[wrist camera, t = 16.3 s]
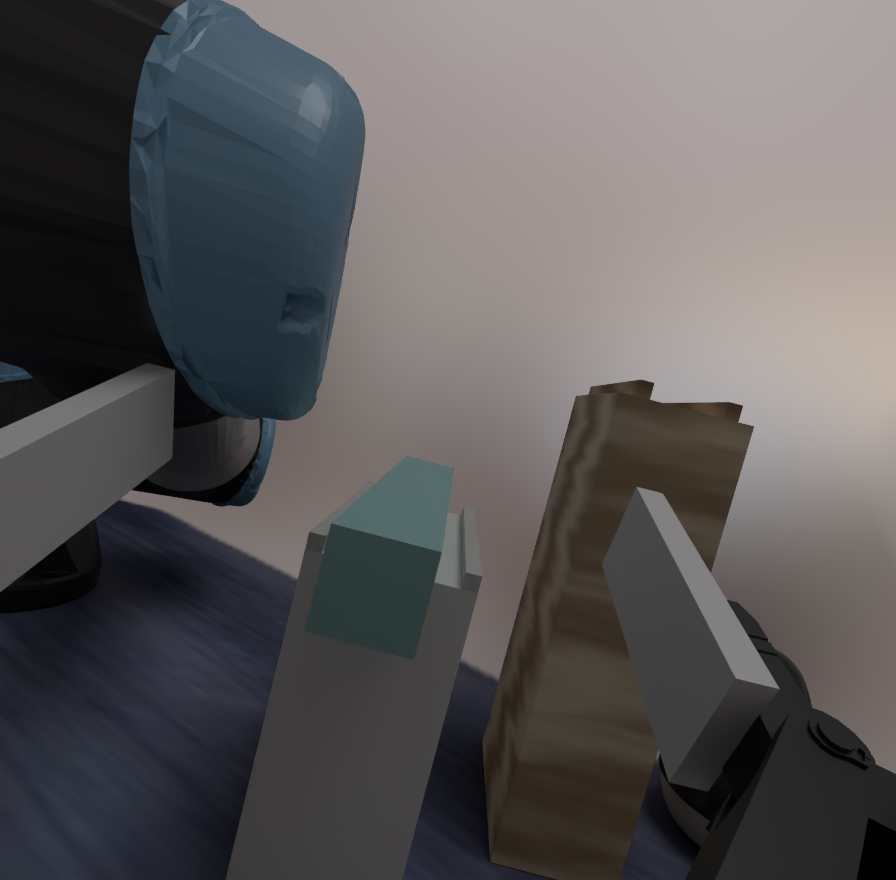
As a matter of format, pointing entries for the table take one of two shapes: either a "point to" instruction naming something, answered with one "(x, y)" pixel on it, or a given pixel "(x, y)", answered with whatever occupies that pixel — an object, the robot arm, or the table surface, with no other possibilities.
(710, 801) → the pump dispenser
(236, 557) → the table surface
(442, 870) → the table surface
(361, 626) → the teal block
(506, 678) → the brown tall block
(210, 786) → the table surface
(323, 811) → the block
